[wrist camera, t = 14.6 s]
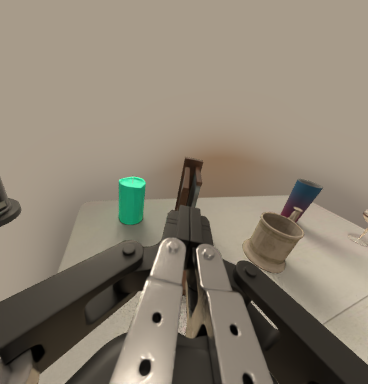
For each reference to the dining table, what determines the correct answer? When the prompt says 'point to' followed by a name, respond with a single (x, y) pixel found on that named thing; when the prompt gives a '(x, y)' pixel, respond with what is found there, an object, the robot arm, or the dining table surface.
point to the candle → (131, 200)
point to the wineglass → (367, 217)
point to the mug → (273, 240)
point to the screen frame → (190, 191)
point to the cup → (301, 197)
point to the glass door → (184, 188)
